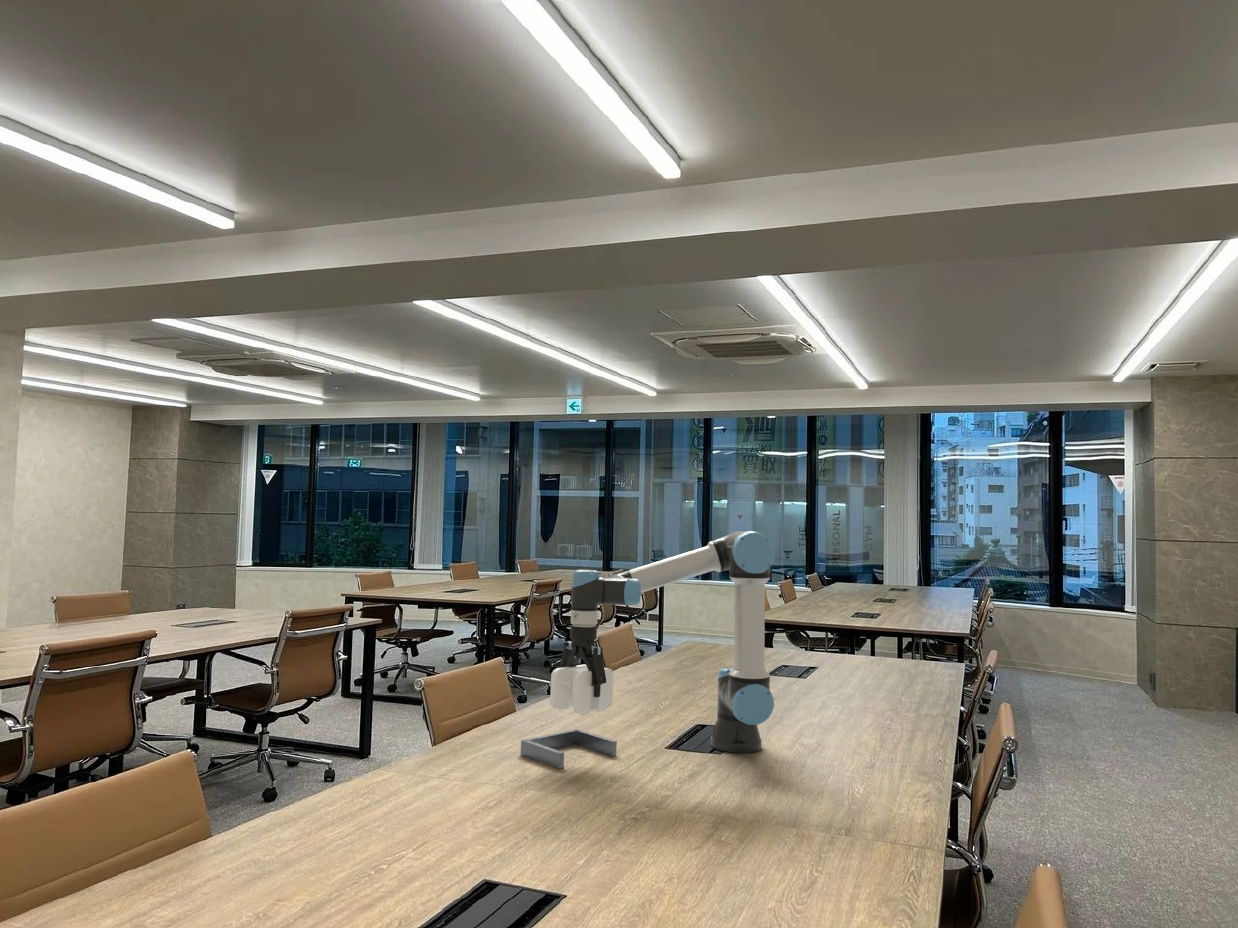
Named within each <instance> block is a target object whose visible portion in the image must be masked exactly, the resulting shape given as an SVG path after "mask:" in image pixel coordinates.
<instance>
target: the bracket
mask: <svg viewBox="0 0 1238 928" xmlns="http://www.w3.org/2000/svg"><path fill="white" fill-rule="evenodd" d="M617 742H618V741H617V740H614V739H611V738H608V737H605V736H601V735H598V734H595V733H591V732H589V731H585V730H583V729H579V728H575V729H571V730H570V729H569V730H565V731H561V732H554V733H551V734H544V735H540V736H535V737H530V738H526V739H521V740H520V755H521V756H524V757H526V758H529V759H530V760H534V761H537V762H540V763H542V764H545V765H548V766H551V767H552V768H556V769H558V770H560V769H561V770H562V769H564V768H565V766H564V765H565V752H564V751H561V750H558V749H562V748H567V747H570V746H575V745H577V746H580V747H583V748H586V749H590V750H592V751H595V752H598V753H601V754H603V755H607V756H610V757H615V756H617Z"/></svg>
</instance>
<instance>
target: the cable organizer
mask: <svg viewBox="0 0 1238 928" xmlns="http://www.w3.org/2000/svg"><path fill="white" fill-rule="evenodd" d="M604 669H605V675H606V683H604V684H601V686H600V697H599V708H598V709H592V710H590V701H591V684H592V672H591V671H588V669H587V666H586V664H579V665H578V664H577V665H576V666H573V667H563V668H559V667H557V668H555V669H554V670H552V672H551V674H550V693H549V694H550V698H549V699H550V700H549V704H550V706H551V707H552V708H554V709H558V710H559V711H560V710H561V711H562V710H567V709H569V708H571V707H572V710H573V712H574V713H576V714H579V715H581V716H586V715H588V714H590V713H592V712H598V713H600V712H604V711H605V712H606V711H607V709H609V708H610V707H611V706H612V705H613V699H614V696H613V694H614V671H613V670H612V669H611V668H609V667H604ZM596 681H597V679H596Z"/></svg>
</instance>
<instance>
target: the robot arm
mask: <svg viewBox="0 0 1238 928" xmlns="http://www.w3.org/2000/svg"><path fill="white" fill-rule="evenodd" d="M775 556H776V555H775V548H774V545H773V543H772V541H771V540H770V539H769V538H768V537H767V536H766V535H765V534H763V533H761V532H758V531H757V530H737V531H734V532H731V533H729V534H727V535H725V536H722V537H720V538H718V539H714V540H712V541H709V542H707V545H706V546H703V547H700V548H697V549H694V550H690V551H687V552H683V553H681V554H677V555H674V556H671V557H667V558H664V559H662V560H657V561H654V562H652V563H649V564H645V565H642V566H639V567H636V568H635V567H634V568H632V569H629V570H626V571H623V572H620V573H613V574H609V575H607V576H606V577H602V576H601V577H600V572H599V571H598V570H594V569H576V570H574V571H573V573H572V581H571V596H570V597H571V600H570V601H571V602H570V603H571V604H570V606H571V608H570V624H571V625H570V627H569V628H570V629H569V638H570V639H571V640H569V641H564V642H563V652H562V655H561V660H560V662H559V663H560V664H559V667H558V668H563V667H573V666H577V665H578V664H579V663H578V662H579V660H583V661H582V662H583V663H585V665H586V666H587V669H588V671H591V672H592V684H591V701H590V710H592V709H598V708H599V697H600V686H601V684H604V683H606V675H605V669H604V668H605V664H604V659H603V657H604V656H603V651H604V650H603V647H602V646H595V641H596V640H597V637H598V635H597V634H598V633H597V632H598V628H597V626H596V625H597V624H598V614H599V613H598V609H599V608H598V607H599V605H613V606H615V605H616V606H617V605H618V606H627V607H629V606H637V605H639V604H640V602H641V597H642V596H641V595H642V593H644V592H648V591H651V590H655V589H658V588H661V587H665V586H668V585H670V584H675V583H678V582H681V581H685V580H687V579H690V578H694V577H696V576H700V575H704V574H706V573H710V572H714V571H715V572H717V573H721V572H725V571H729V572H728V573H729V579H730V580H731V581H732V582H733V585H734V611H733V613H734V622H733V623H734V626H733V628H734V634H733V637H734V639H733V641H734V644H733V647H734V648H733V649H734V650H733V651H734V652H733V656H734V657H733V668H720V670H719V671H718V675H717V710H716V711H717V716H716V722H715V724H714V727H713V731H712V734H711V736H710V745H711V747H712V748H714V749H716V750H719V751H722V752H728V753H736V754H743V753H744V754H749V753H755V752H759V751H760V750H761V749H762V744H763V743H762V741H763V740H762V738H761V735H760V730H759V726H758V725H760V724H763V723H764V722H766V721H767V720H768V719H769V718H770V717H771V716H772V714H773V711H774V708H775V699H774V696H773V694H772V693H773V692H771V689H770V688H771V687H770V686H771V685H770V684H771V683H770V682H771V680H770V679H771V677H770V676H771V674H770V673H769V672H768V671H767V670H766V669H765V668H766V667H765V639H766V638H765V637H766V636H765V634H766V633H765V621H766V620H765V618H766V617H765V616H766V615H765V613H766V612H765V610H766V609H765V606H766V605H765V603H766V601H765V600H766V599H765V598H766V595H765V593H766V591H765V589H766V588H765V587H766V583H767V582H768V581H770V580H771V566H772V565H773V562H774V561H775ZM596 679H597V681H596Z"/></svg>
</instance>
